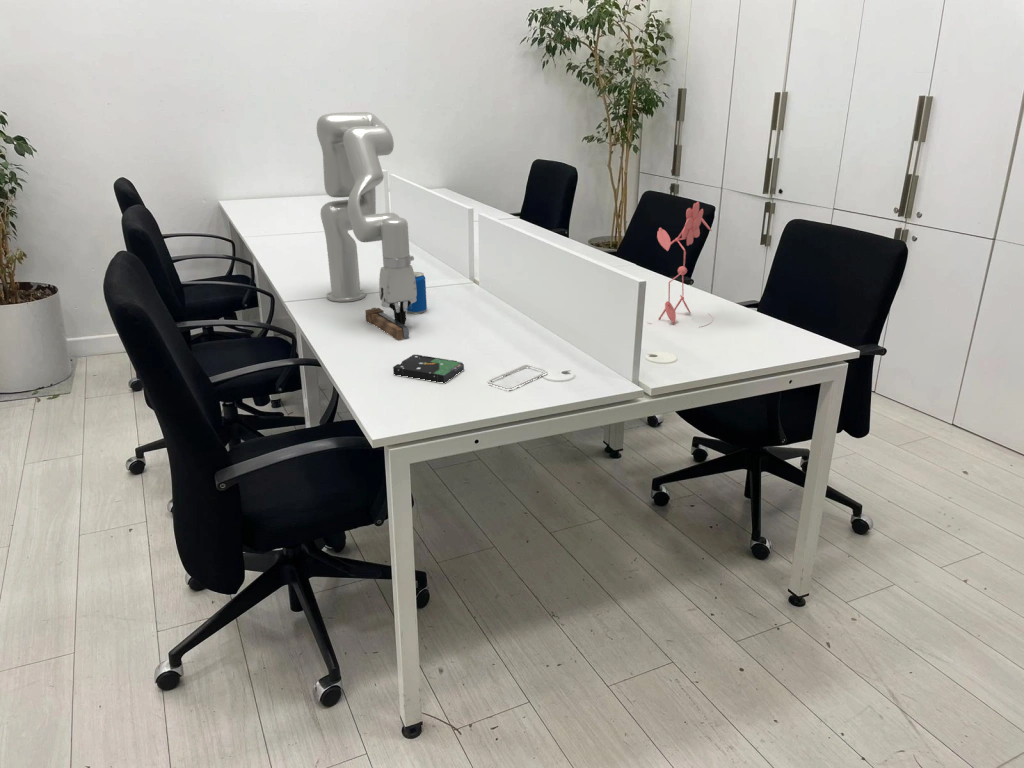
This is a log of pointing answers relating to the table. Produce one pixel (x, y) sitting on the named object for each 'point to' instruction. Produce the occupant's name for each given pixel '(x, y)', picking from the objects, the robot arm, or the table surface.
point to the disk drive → (428, 368)
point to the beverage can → (419, 295)
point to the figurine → (690, 232)
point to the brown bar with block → (383, 323)
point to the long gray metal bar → (405, 328)
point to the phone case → (515, 371)
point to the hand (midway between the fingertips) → (400, 323)
